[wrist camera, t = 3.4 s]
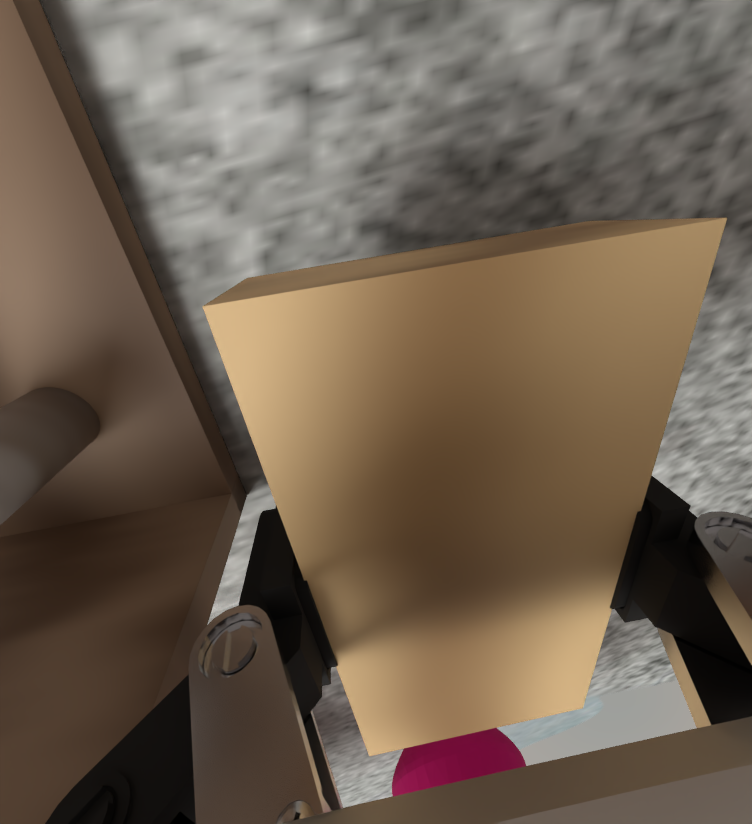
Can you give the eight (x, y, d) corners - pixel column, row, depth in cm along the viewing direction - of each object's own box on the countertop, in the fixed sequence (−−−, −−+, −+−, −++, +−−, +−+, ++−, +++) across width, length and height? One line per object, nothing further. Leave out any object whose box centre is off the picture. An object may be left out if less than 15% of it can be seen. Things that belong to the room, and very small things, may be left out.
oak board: (590, 221, 6) (728, 217, 4) (537, 622, 12) (582, 708, 10) (246, 278, 6) (202, 306, 4) (361, 660, 12) (369, 756, 9)
